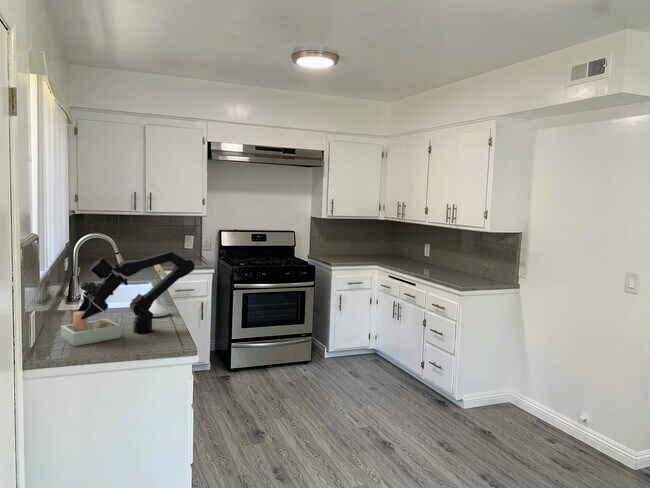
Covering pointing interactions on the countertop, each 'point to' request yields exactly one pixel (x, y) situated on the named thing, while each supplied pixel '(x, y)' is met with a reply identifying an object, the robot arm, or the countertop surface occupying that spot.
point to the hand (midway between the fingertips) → (79, 316)
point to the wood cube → (102, 324)
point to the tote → (90, 334)
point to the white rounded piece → (158, 307)
